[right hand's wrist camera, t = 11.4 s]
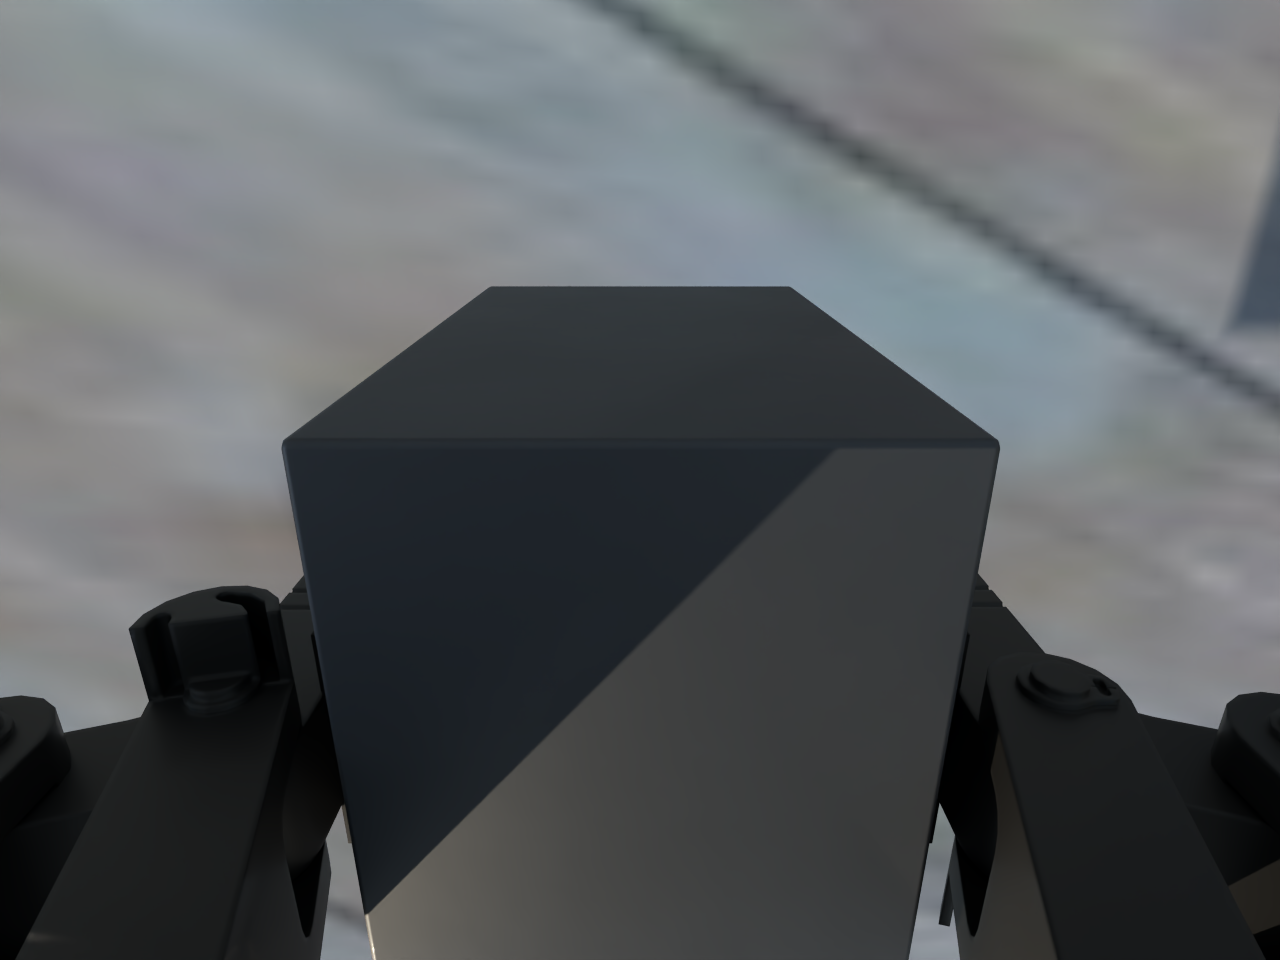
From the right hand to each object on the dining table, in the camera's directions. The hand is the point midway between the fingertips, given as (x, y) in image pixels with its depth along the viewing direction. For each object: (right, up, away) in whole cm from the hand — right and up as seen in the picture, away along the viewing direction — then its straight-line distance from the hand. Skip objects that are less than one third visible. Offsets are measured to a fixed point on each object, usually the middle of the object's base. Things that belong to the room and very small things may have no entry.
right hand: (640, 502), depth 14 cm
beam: (0, -9, +4) cm, 10 cm away
